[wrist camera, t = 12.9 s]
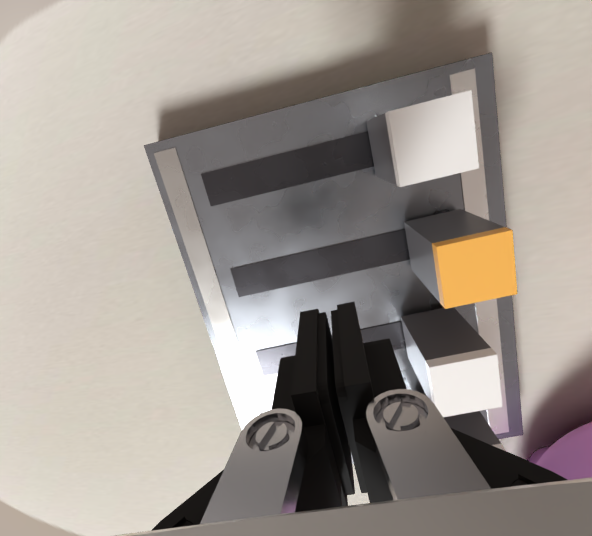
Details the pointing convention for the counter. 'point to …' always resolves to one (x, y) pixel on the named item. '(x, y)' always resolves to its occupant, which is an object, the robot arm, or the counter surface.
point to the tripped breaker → (462, 257)
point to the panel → (325, 229)
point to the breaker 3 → (474, 427)
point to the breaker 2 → (452, 362)
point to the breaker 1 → (425, 140)
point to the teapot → (568, 454)
